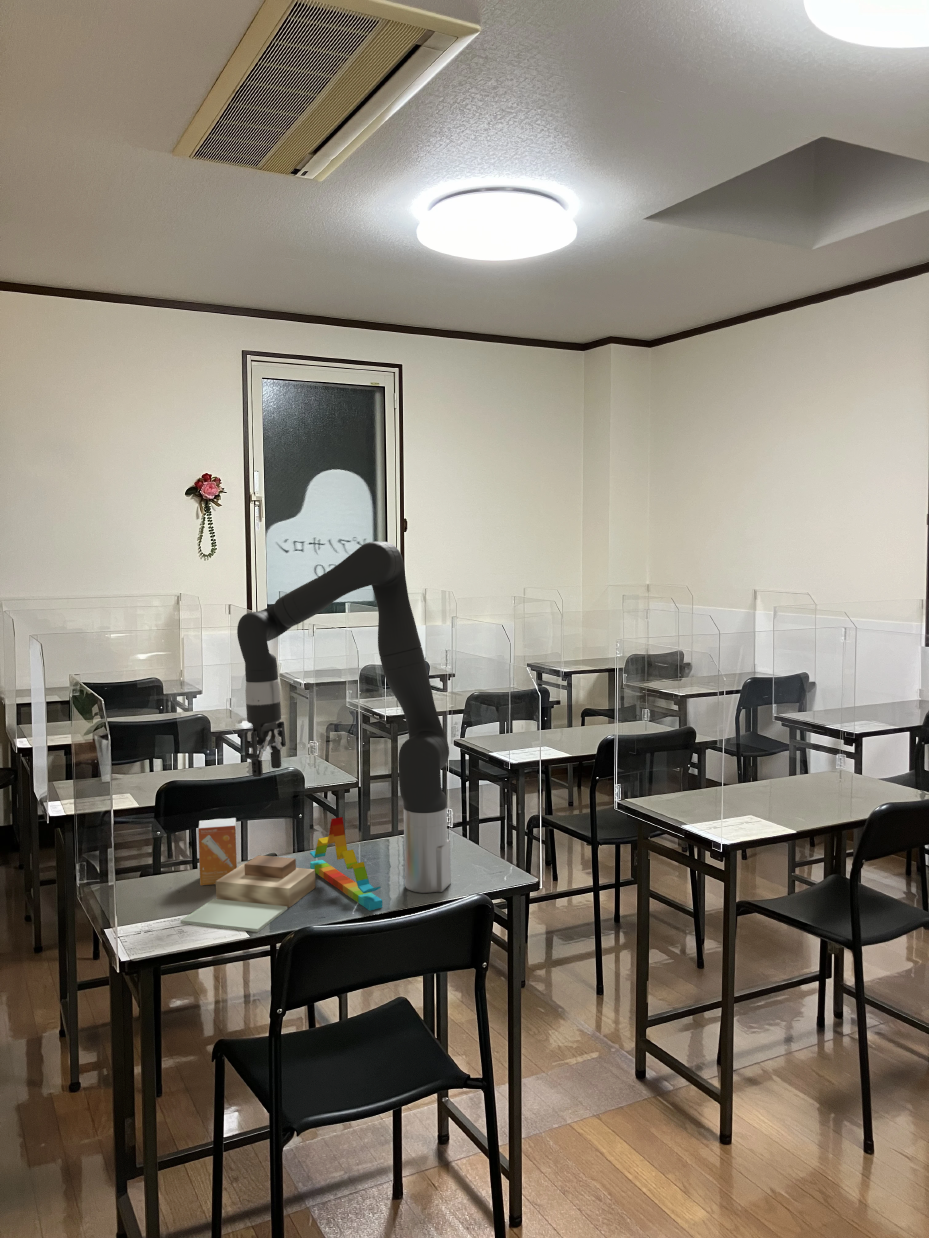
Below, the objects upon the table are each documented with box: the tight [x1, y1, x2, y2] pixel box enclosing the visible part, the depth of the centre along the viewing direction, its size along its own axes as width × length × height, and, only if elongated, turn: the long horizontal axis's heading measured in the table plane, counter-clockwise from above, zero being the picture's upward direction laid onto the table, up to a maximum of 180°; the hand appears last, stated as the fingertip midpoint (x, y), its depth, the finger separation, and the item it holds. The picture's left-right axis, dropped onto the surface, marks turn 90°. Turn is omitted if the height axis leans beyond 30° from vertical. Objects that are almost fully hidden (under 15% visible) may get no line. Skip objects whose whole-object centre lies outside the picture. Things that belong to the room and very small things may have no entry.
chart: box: [309, 816, 383, 912], centre depth 212 cm, size 30×3×15 cm, turn 32°
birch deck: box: [215, 862, 316, 908], centre depth 209 cm, size 17×12×4 cm
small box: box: [198, 817, 238, 886], centre depth 218 cm, size 8×6×13 cm
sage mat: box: [180, 898, 288, 933], centre depth 197 cm, size 17×12×1 cm
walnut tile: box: [243, 855, 297, 879], centre depth 211 cm, size 9×6×2 cm, turn 73°
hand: (267, 772), depth 221 cm, fingers open, 8 cm apart
